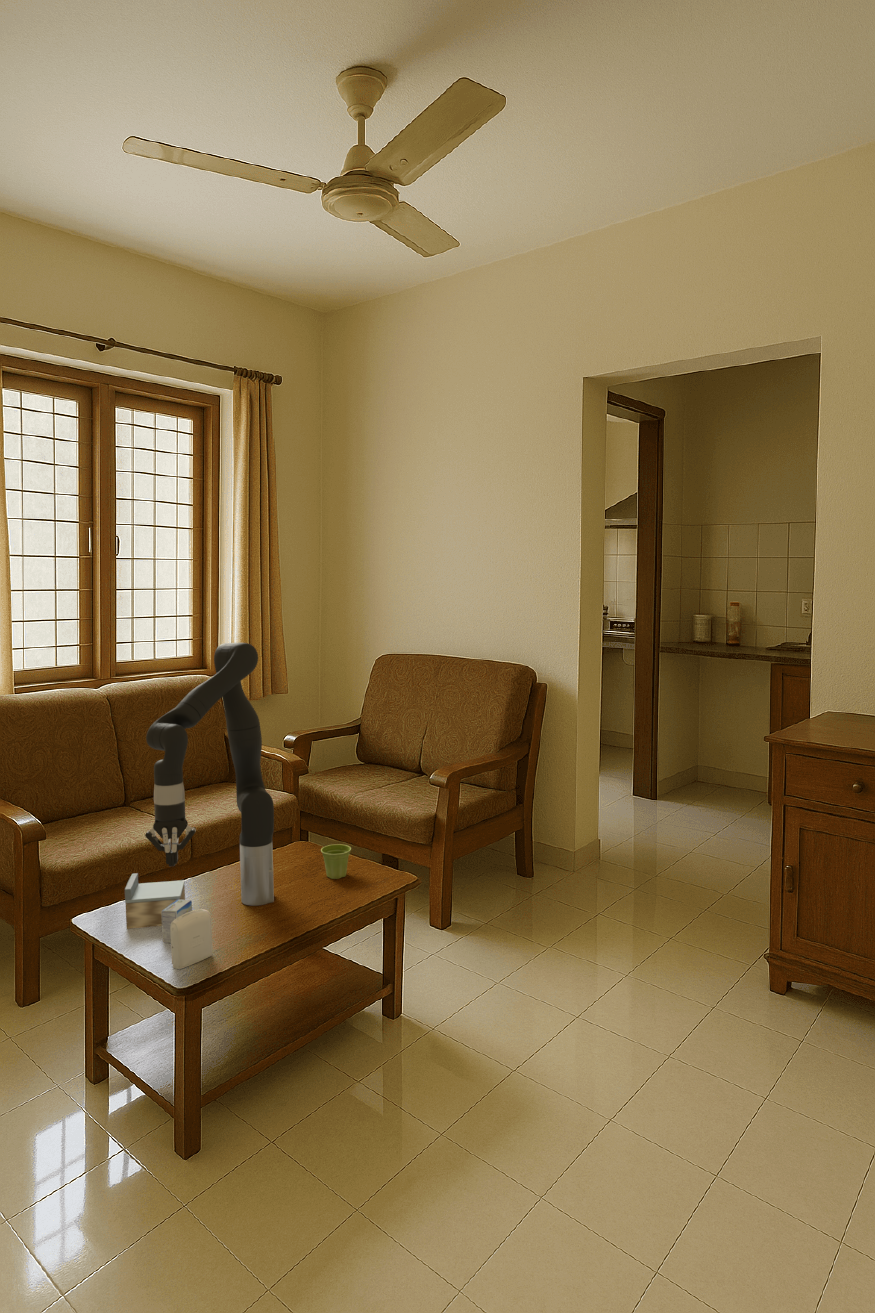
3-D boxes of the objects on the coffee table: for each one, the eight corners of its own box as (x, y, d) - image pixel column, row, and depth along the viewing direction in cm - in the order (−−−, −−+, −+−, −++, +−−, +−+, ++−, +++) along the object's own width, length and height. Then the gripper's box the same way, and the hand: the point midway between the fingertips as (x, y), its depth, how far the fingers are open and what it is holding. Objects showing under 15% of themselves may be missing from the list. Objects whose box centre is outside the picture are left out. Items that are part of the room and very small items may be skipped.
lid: (184, 883, 231) (184, 869, 231) (180, 899, 219) (179, 885, 219) (132, 886, 228) (132, 873, 228) (125, 903, 217) (124, 889, 216)
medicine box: (178, 944, 208) (176, 911, 208) (162, 943, 209) (160, 910, 209) (193, 931, 216) (192, 899, 215) (177, 930, 217) (176, 898, 216)
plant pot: (349, 881, 252) (349, 854, 251) (319, 881, 252) (318, 854, 251) (353, 870, 261) (352, 844, 260) (323, 870, 261) (323, 844, 261)
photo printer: (178, 971, 194) (176, 921, 193) (168, 966, 197) (166, 916, 195) (215, 956, 202) (214, 908, 201) (205, 951, 204) (203, 903, 203)
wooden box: (185, 908, 231) (184, 884, 231) (181, 924, 221) (180, 899, 220) (133, 912, 229) (132, 888, 228) (126, 929, 218) (125, 903, 217)
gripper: (197, 794, 215) (200, 858, 217) (145, 797, 213) (147, 862, 214) (194, 802, 208) (196, 868, 209) (140, 805, 205) (142, 872, 207)
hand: (172, 865), depth 212 cm, fingers closed
